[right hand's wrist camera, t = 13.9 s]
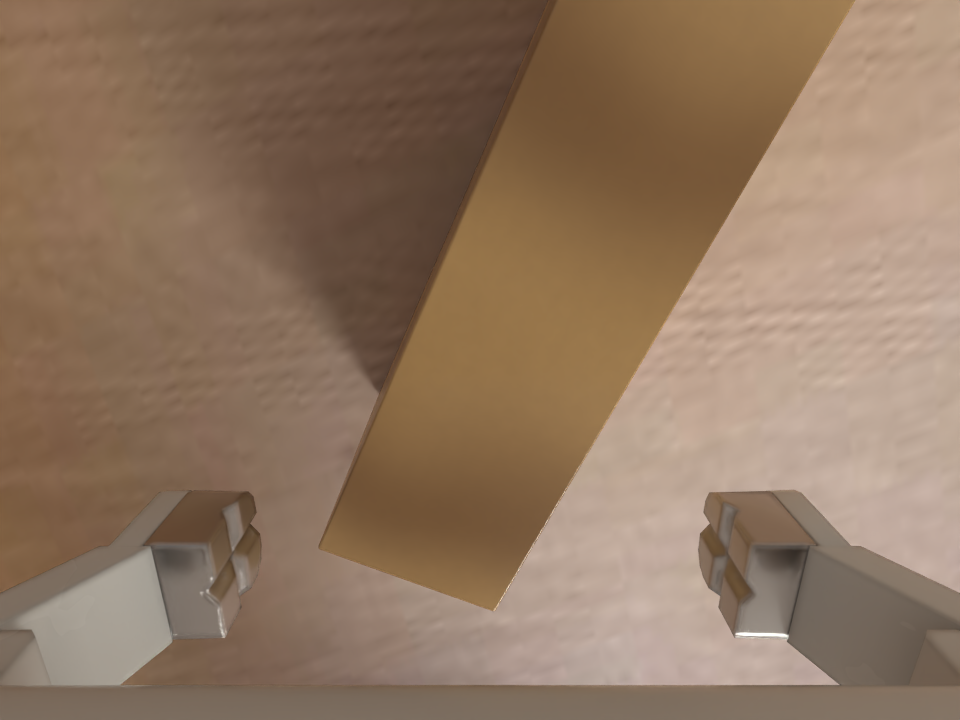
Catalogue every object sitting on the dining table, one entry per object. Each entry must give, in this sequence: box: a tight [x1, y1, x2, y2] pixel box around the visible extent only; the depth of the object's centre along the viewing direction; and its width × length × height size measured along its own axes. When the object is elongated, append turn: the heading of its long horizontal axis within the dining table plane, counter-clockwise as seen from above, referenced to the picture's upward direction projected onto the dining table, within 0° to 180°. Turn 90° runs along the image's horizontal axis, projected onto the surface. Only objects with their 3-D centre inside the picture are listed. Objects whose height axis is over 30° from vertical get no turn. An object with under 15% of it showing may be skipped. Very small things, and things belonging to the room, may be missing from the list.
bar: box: [319, 0, 855, 611], centre depth 15 cm, size 22×5×9 cm, turn 156°
